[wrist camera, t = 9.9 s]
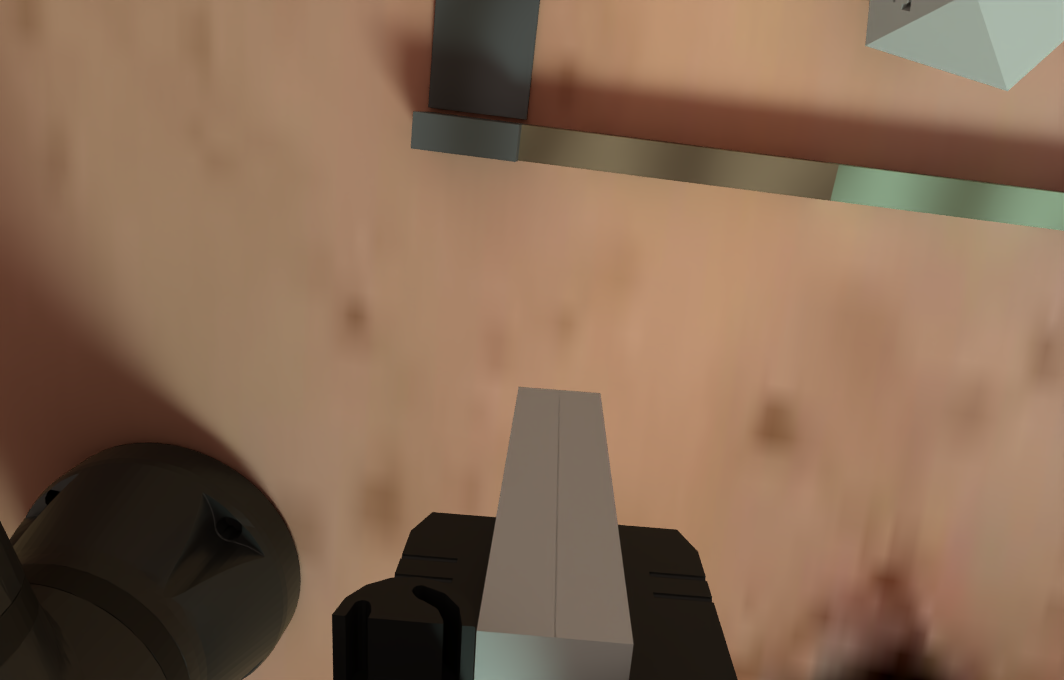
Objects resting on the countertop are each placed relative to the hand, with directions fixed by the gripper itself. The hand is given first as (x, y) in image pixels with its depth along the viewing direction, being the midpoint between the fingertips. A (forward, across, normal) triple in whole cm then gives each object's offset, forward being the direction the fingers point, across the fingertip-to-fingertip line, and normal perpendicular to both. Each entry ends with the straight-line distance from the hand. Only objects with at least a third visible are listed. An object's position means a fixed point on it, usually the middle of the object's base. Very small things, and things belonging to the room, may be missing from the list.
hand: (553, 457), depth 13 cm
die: (+21, -15, -13) cm, 29 cm away
